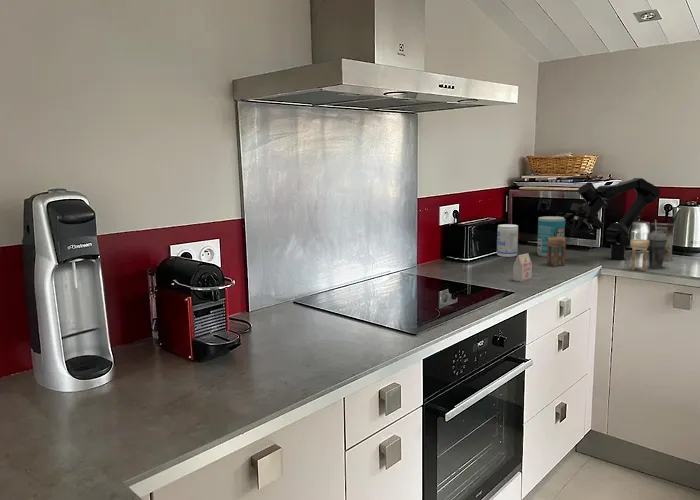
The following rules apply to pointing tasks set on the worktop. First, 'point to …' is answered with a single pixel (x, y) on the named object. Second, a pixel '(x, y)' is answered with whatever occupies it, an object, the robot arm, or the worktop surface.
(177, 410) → the worktop surface
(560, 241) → the wooden stool
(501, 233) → the supplement tub
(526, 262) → the milk carton
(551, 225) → the food can
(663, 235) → the beverage cup
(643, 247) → the light brown bar stool
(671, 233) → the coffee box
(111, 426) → the worktop surface
